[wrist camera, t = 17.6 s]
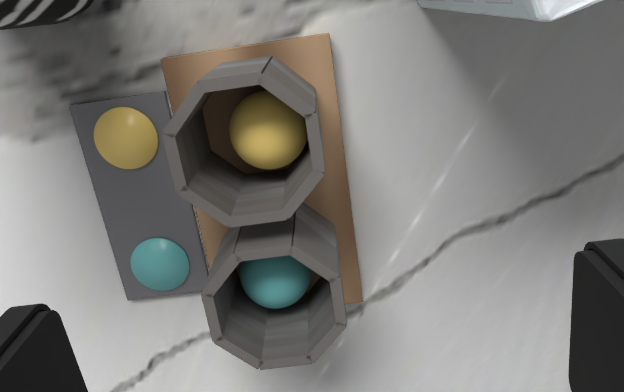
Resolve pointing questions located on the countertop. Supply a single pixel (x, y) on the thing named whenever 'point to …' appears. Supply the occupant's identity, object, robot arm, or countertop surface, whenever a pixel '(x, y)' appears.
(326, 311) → the double cup sorting tray
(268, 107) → the ochre ball
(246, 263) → the teal ball
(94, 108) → the card
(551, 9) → the supplement box
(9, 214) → the countertop surface
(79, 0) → the spotted tube
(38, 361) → the robot arm
